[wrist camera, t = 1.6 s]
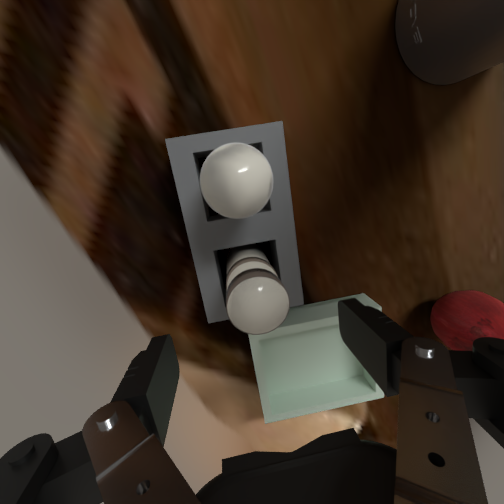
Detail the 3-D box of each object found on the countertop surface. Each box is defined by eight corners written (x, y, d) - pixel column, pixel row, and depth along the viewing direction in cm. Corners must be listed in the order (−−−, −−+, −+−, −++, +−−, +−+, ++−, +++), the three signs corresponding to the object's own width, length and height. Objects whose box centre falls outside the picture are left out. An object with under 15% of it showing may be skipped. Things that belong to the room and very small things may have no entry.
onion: (417, 337, 27) (493, 396, 20) (406, 292, 26) (483, 338, 18) (467, 316, 27) (562, 367, 20) (459, 269, 26) (558, 305, 18)
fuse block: (273, 131, 21) (282, 120, 17) (293, 288, 24) (303, 304, 21) (175, 146, 20) (165, 139, 17) (210, 304, 24) (208, 323, 21)
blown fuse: (262, 238, 23) (285, 270, 14) (268, 276, 24) (293, 328, 15) (222, 245, 23) (220, 282, 14) (230, 283, 24) (232, 340, 15)
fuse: (250, 156, 21) (268, 136, 12) (257, 201, 22) (278, 212, 13) (206, 164, 21) (192, 148, 12) (215, 208, 22) (208, 224, 13)
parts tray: (363, 293, 25) (381, 307, 22) (367, 375, 28) (384, 397, 25) (245, 316, 25) (248, 334, 22) (260, 398, 27) (265, 423, 24)
